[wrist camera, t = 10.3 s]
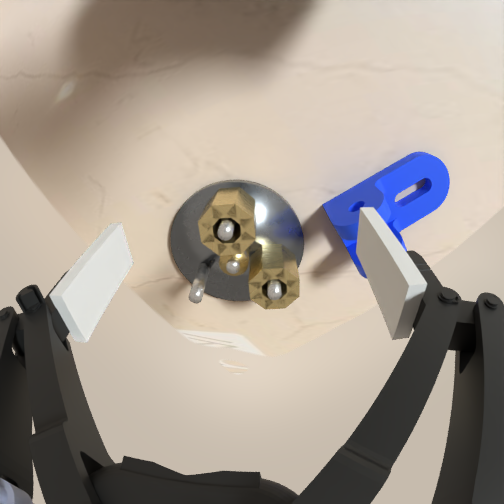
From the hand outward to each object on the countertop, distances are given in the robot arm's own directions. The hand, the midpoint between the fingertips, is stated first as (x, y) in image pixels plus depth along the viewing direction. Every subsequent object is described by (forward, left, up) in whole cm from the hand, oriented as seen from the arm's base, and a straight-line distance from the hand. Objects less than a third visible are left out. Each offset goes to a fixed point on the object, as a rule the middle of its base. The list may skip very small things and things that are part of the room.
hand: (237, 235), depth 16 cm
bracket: (+6, +19, -22) cm, 30 cm away
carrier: (+12, -3, -22) cm, 25 cm away
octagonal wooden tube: (+7, -3, -21) cm, 22 cm away
